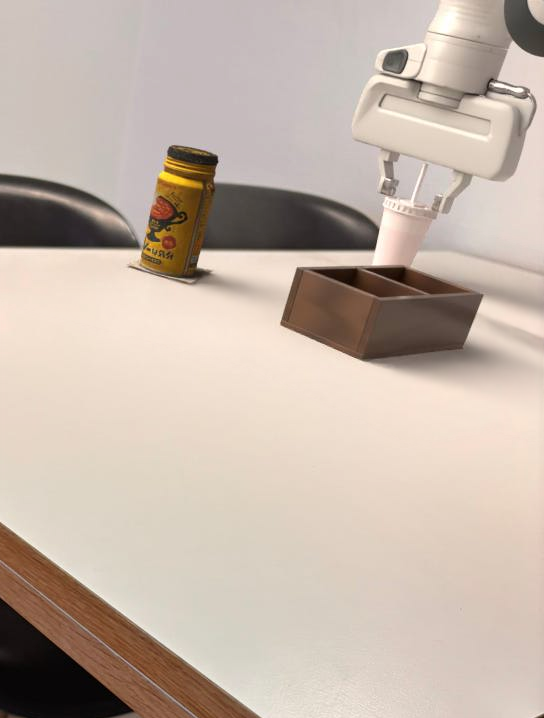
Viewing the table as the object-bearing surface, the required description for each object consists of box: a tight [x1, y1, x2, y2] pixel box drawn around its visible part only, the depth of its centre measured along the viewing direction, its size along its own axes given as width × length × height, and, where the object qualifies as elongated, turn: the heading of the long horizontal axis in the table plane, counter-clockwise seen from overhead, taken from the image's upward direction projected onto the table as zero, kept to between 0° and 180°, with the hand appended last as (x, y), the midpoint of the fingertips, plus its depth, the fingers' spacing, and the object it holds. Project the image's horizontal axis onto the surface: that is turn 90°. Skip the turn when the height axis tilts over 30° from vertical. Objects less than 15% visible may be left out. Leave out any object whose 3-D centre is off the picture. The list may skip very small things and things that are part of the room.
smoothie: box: [371, 163, 439, 268], centre depth 125 cm, size 6×6×14 cm
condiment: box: [126, 144, 219, 284], centre depth 111 cm, size 7×8×12 cm
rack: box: [279, 265, 485, 361], centre depth 105 cm, size 10×19×6 cm, turn 132°
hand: (411, 203), depth 124 cm, fingers closed on smoothie, 6 cm apart
